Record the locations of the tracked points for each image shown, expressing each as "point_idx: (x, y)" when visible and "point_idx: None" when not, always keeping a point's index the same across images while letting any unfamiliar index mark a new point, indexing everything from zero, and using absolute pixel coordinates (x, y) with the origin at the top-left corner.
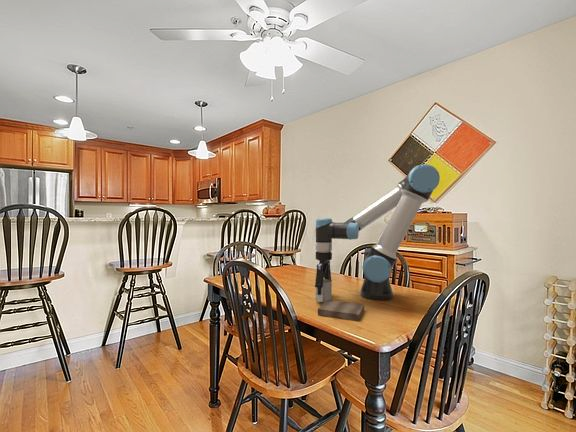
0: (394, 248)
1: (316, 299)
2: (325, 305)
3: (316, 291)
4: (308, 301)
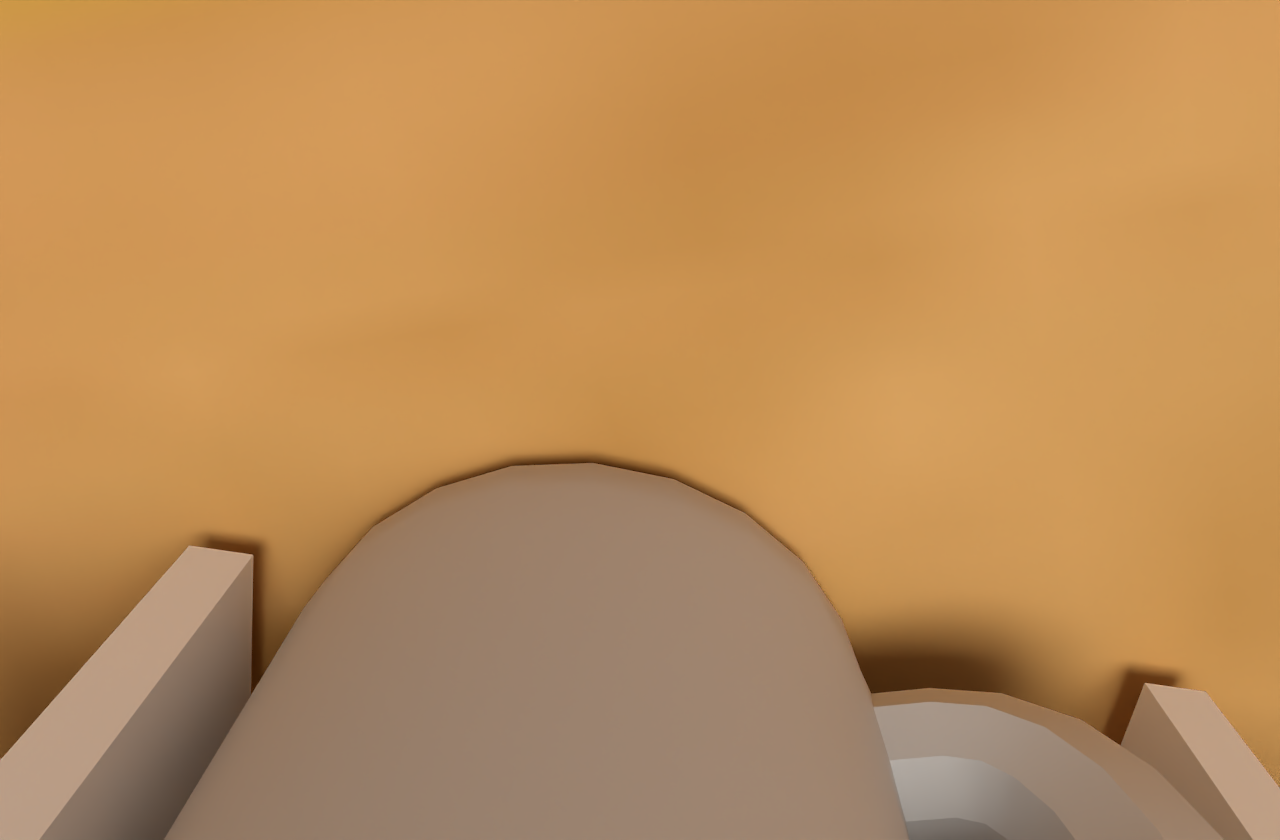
0: None
1: (406, 511)
2: None
3: (297, 713)
4: (224, 201)
